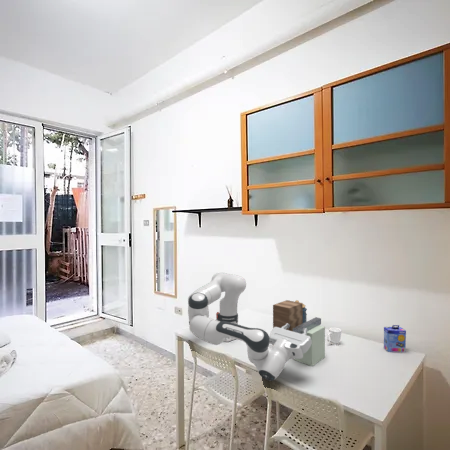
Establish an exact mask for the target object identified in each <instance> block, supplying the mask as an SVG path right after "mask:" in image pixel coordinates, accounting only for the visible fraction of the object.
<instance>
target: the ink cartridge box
mask: <svg viewBox="0 0 450 450" xmlns="http://www.w3.org/2000/svg"><path fill="white" fill-rule="evenodd" d="M406 339H407V330H406V329H404V328H403V327H400V324H397V325H396V324H395V325H394V324H393V325H392V326H384V327H383V349H385V351H386V352H387V351H388V352H387V353H389V352H390V353H406V344H407V343H406V342H407V340H406Z"/></svg>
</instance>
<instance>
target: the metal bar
mask: <svg viewBox="0 0 450 450" xmlns="http://www.w3.org/2000/svg"><path fill="white" fill-rule="evenodd" d="M321 324H322V317H321V318H320V317H316V316H315V317H314V318H312V319H309V320H307V322H305V323H303V324H301V325H299V326H297V327H295V328H293V332H296V333H300V334H303V329H304V328H307V330H308V331H309V330H311V329H313V328H314V327H316V326H318V325H320V326H321Z"/></svg>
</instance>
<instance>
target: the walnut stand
mask: <svg viewBox="0 0 450 450" xmlns="http://www.w3.org/2000/svg"><path fill="white" fill-rule="evenodd" d="M303 304H304V303H303V302H300V303H299V302H295V301H294V300H293V301H292V300H287V299H286V300H283V301H281V302H277V303H274V304H273V305H272V316H273V317H272V329H273V328H274V327H279V328H281V327H283V326H285V325H286V324H287V323H288V324H290V327H289V328H287V329H286V330H289V331H293V328H295V327H297V326H299V325H301V324H303Z"/></svg>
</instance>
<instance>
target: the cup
mask: <svg viewBox="0 0 450 450" xmlns="http://www.w3.org/2000/svg"><path fill="white" fill-rule="evenodd" d="M328 331H329V332H328V334H327V337H326V338H327V339H326V340H327V342H328V344H331V345H336V346H339V345H340V341H341V336H342V333H343V331H342V329H341V328H339V327H330V328H329V329H328ZM329 338H330V339H329Z"/></svg>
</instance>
